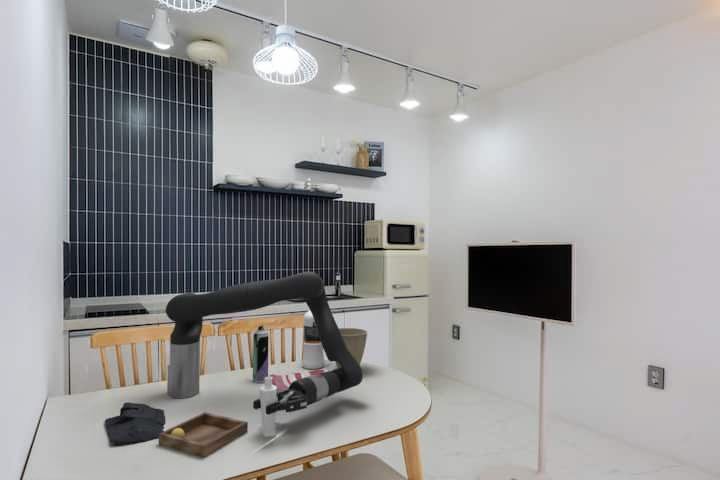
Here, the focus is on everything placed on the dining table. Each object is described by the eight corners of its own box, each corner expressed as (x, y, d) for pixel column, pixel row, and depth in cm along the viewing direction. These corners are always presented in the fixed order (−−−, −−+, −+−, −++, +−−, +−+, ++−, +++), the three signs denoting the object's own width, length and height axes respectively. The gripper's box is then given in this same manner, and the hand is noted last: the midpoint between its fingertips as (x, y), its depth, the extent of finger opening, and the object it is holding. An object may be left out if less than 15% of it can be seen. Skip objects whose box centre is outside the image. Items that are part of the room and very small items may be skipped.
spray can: (264, 383, 151) (264, 327, 151) (250, 382, 152) (250, 327, 152) (270, 378, 156) (271, 324, 156) (256, 377, 157) (257, 324, 157)
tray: (158, 446, 103) (158, 433, 103) (204, 423, 117) (204, 412, 117) (204, 460, 97) (204, 446, 97) (247, 433, 110) (247, 422, 110)
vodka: (322, 362, 178) (323, 291, 178) (326, 369, 169) (326, 294, 169) (300, 364, 176) (301, 292, 176) (303, 370, 167) (303, 294, 167)
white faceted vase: (261, 432, 112) (260, 375, 112) (277, 431, 112) (277, 374, 112) (258, 440, 107) (258, 380, 107) (275, 439, 107) (275, 380, 108)
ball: (167, 442, 104) (167, 429, 104) (177, 437, 107) (178, 424, 107) (176, 445, 102) (177, 432, 103) (187, 440, 105) (187, 427, 105)
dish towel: (268, 381, 155) (268, 373, 155) (329, 374, 164) (329, 367, 164) (276, 396, 139) (276, 388, 140) (343, 388, 148) (343, 380, 148)
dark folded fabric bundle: (100, 455, 100) (100, 435, 100) (105, 420, 119) (105, 404, 119) (170, 441, 107) (171, 422, 107) (164, 411, 126) (165, 395, 127)
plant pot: (368, 377, 159) (369, 335, 159) (329, 378, 158) (329, 335, 158) (365, 366, 174) (365, 327, 174) (329, 366, 173) (329, 327, 173)
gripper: (292, 372, 125) (243, 387, 112) (327, 382, 116) (278, 399, 103) (292, 397, 125) (243, 415, 112) (326, 409, 116) (278, 430, 103)
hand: (260, 407), depth 107 cm, fingers closed on white faceted vase, 4 cm apart
